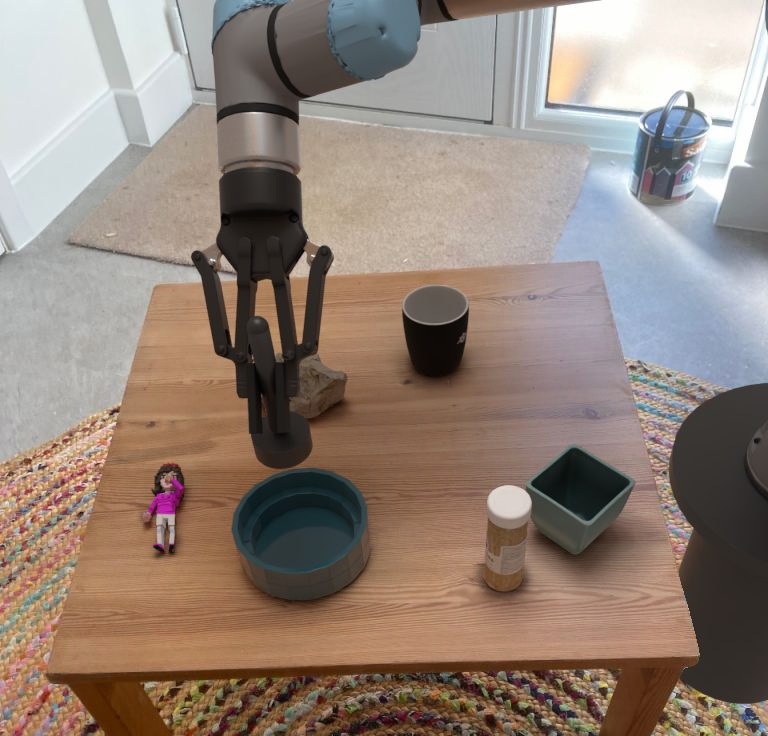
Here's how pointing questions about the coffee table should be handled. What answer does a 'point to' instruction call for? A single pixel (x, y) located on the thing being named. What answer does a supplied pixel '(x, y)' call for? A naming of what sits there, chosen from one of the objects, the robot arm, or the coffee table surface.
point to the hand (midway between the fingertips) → (270, 432)
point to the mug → (435, 328)
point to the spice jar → (506, 537)
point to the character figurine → (166, 502)
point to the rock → (316, 387)
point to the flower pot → (577, 498)
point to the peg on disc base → (275, 407)
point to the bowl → (302, 533)
